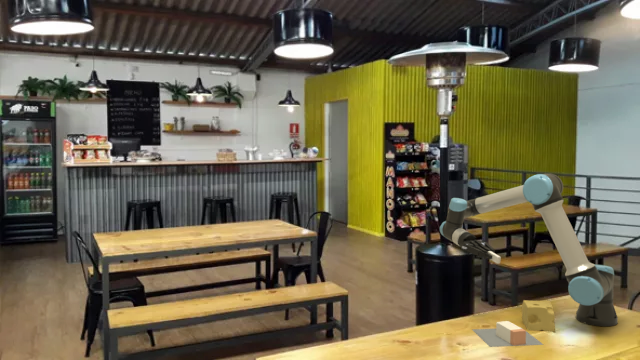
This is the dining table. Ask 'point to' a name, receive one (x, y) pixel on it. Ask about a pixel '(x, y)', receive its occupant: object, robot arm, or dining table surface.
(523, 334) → the tall block
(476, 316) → the dining table surface
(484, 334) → the slate mat
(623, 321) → the dining table surface
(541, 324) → the cheese
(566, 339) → the dining table surface
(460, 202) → the robot arm
